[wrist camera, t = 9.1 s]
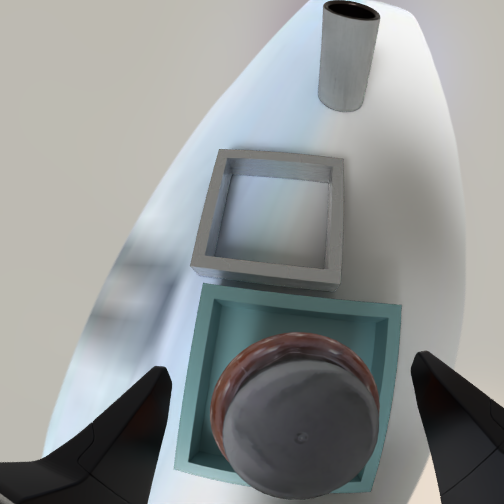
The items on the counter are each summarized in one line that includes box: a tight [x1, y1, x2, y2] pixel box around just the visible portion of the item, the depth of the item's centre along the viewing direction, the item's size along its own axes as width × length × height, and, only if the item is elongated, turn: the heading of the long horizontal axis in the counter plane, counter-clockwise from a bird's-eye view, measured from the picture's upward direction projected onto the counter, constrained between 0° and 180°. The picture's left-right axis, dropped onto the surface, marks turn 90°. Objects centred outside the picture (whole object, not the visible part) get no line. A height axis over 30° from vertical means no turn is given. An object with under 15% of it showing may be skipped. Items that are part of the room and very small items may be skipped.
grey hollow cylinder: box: [318, 0, 380, 112], centre depth 20 cm, size 4×4×10 cm
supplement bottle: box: [210, 332, 380, 500], centre depth 11 cm, size 6×6×11 cm
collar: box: [190, 149, 344, 292], centre depth 20 cm, size 9×9×2 cm
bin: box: [174, 283, 402, 493], centre depth 15 cm, size 12×12×3 cm
